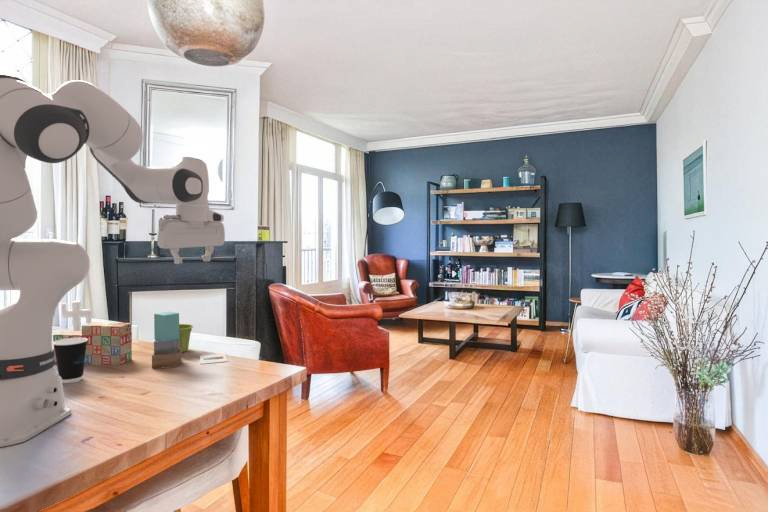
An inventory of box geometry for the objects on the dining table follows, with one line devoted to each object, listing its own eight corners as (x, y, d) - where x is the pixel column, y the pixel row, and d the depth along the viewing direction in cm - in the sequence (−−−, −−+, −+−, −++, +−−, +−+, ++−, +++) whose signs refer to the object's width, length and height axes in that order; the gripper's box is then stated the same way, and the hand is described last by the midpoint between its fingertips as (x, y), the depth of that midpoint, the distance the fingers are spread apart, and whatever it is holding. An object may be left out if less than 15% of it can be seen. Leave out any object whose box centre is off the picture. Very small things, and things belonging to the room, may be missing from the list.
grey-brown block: (177, 367, 137) (176, 341, 137) (151, 368, 135) (151, 342, 135) (181, 361, 144) (181, 336, 144) (157, 362, 142) (157, 337, 142)
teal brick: (179, 338, 140) (179, 313, 140) (164, 341, 136) (164, 315, 136) (169, 336, 143) (169, 311, 142) (154, 339, 138) (154, 313, 138)
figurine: (89, 341, 170) (88, 301, 169) (59, 342, 167) (58, 302, 166) (93, 337, 177) (93, 299, 176) (65, 338, 174) (64, 300, 173)
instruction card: (227, 361, 144) (227, 360, 144) (200, 364, 140) (200, 363, 140) (225, 354, 153) (225, 353, 153) (199, 356, 150) (199, 355, 150)
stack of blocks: (53, 364, 140) (52, 324, 139) (67, 358, 146) (67, 321, 145) (120, 365, 139) (120, 325, 139) (132, 359, 145) (132, 322, 145)
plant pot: (193, 347, 162) (193, 323, 162) (192, 353, 153) (192, 328, 153) (165, 349, 159) (164, 324, 159) (162, 355, 150) (161, 330, 150)
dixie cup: (86, 382, 122) (86, 342, 122) (50, 386, 118) (49, 345, 118) (90, 374, 129) (89, 336, 129) (56, 378, 125) (55, 339, 125)
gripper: (166, 215, 120) (166, 266, 121) (228, 216, 138) (227, 260, 139) (152, 214, 123) (152, 264, 125) (214, 215, 141) (214, 259, 142)
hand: (192, 262), depth 132 cm, fingers open, 8 cm apart
